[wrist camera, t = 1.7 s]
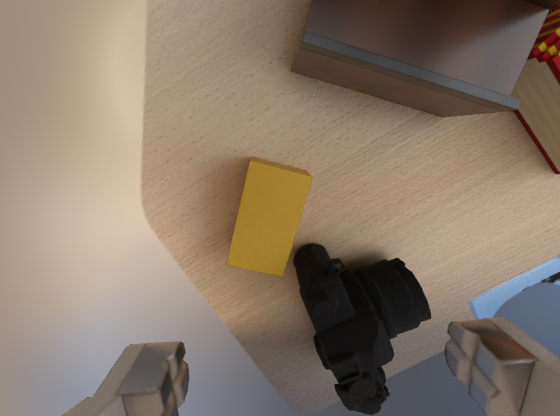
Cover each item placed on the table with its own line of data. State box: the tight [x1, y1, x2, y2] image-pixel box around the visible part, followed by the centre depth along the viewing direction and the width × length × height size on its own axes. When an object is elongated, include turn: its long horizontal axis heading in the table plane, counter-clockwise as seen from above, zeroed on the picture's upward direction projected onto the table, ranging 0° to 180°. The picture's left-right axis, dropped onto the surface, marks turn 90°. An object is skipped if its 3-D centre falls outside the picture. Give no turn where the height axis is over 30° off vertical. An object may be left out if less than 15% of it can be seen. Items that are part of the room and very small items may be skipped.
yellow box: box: [226, 157, 312, 277], centre depth 23 cm, size 5×9×4 cm, turn 165°
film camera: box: [294, 244, 431, 415], centre depth 23 cm, size 15×10×9 cm, turn 22°
